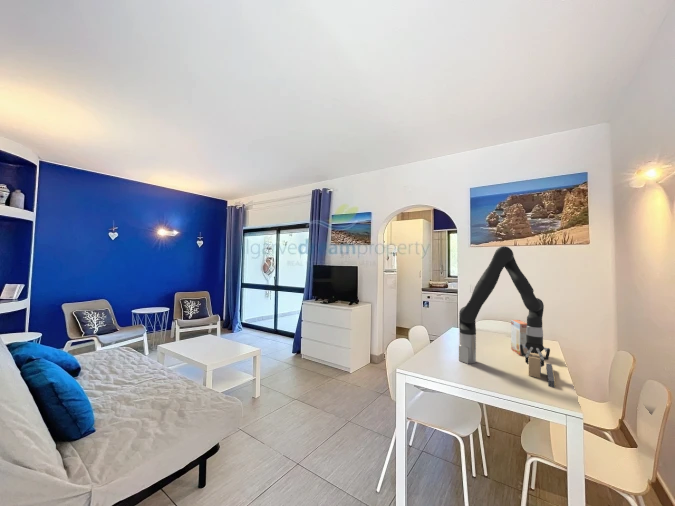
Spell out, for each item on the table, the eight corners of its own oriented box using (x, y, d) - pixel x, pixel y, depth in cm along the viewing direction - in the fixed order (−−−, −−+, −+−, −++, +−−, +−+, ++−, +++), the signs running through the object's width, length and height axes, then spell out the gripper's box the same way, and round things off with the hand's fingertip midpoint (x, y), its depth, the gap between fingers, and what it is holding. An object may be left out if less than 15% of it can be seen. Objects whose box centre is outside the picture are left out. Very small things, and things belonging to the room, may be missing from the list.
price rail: (555, 387, 136) (555, 381, 136) (548, 386, 137) (548, 380, 137) (552, 369, 158) (552, 364, 158) (546, 368, 160) (546, 363, 160)
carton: (540, 378, 146) (540, 359, 146) (528, 375, 149) (528, 357, 149) (540, 372, 154) (540, 354, 155) (528, 369, 157) (529, 352, 158)
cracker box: (529, 356, 180) (529, 324, 181) (519, 355, 181) (519, 323, 182) (520, 349, 194) (520, 319, 194) (510, 348, 195) (510, 319, 196)
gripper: (550, 335, 151) (550, 366, 151) (519, 330, 159) (519, 360, 159) (551, 338, 145) (551, 370, 145) (518, 333, 153) (518, 364, 153)
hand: (534, 365), depth 152 cm, fingers open, 5 cm apart
